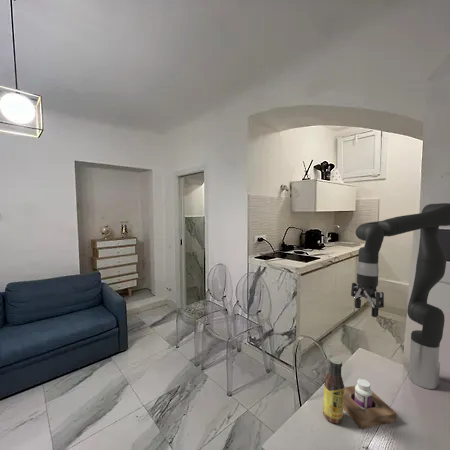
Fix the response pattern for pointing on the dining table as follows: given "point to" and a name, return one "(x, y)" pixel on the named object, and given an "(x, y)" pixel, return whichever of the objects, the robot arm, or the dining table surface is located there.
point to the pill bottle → (363, 394)
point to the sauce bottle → (333, 392)
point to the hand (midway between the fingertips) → (365, 312)
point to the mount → (368, 410)
